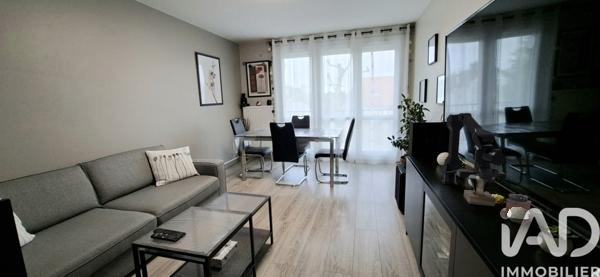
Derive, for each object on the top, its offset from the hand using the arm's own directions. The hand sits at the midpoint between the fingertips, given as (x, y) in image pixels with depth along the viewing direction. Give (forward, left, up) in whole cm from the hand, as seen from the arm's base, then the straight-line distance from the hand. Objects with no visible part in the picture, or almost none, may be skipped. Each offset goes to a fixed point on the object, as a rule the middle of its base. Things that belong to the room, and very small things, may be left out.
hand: (479, 191), depth 121 cm
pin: (0, 0, -2) cm, 2 cm away
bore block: (0, 0, -5) cm, 5 cm away
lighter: (+15, +9, -5) cm, 18 cm away
